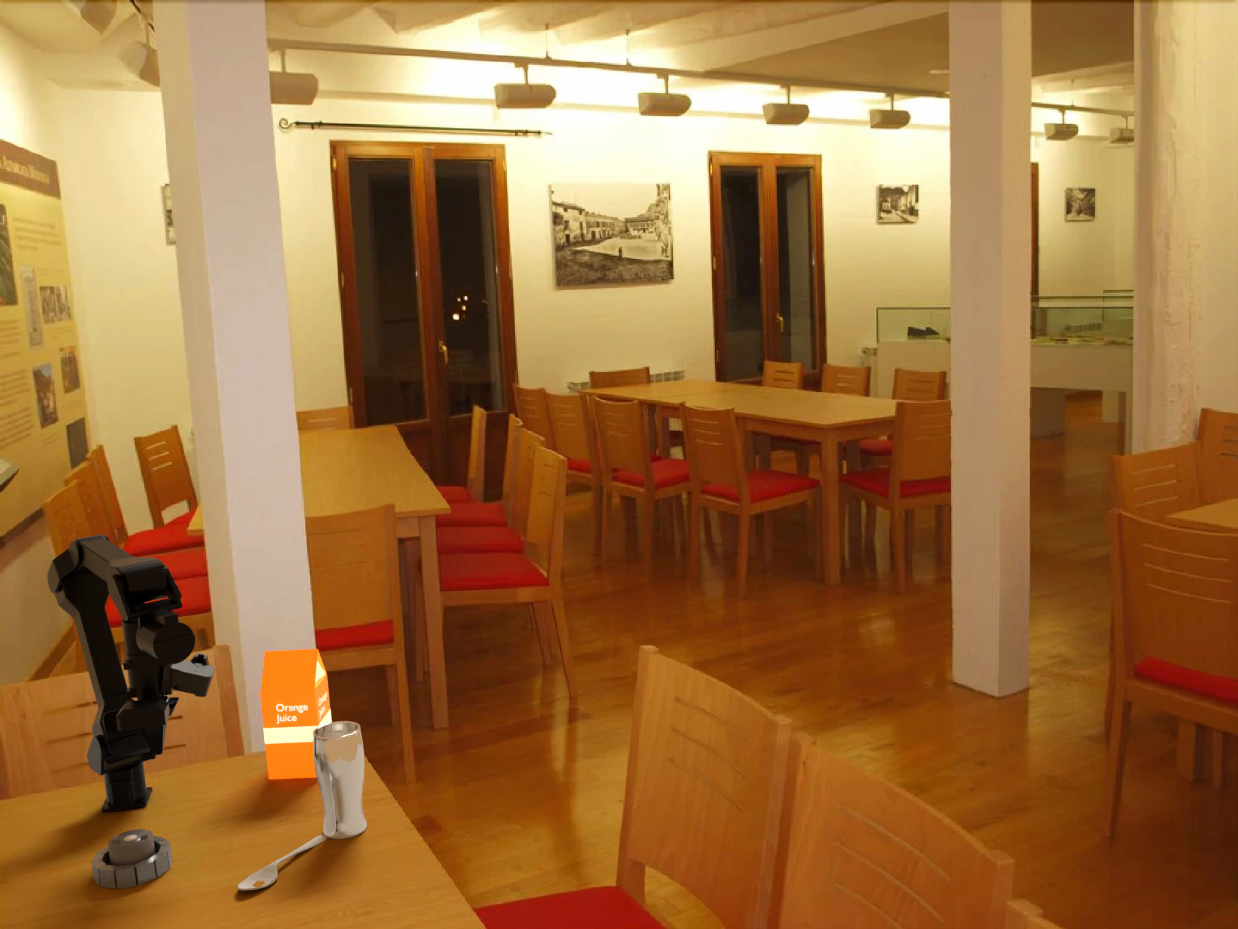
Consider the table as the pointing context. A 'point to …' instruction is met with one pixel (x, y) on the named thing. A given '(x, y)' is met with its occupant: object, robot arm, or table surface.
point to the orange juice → (293, 710)
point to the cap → (131, 847)
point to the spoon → (275, 867)
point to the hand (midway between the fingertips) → (158, 753)
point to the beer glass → (340, 777)
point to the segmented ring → (132, 867)
